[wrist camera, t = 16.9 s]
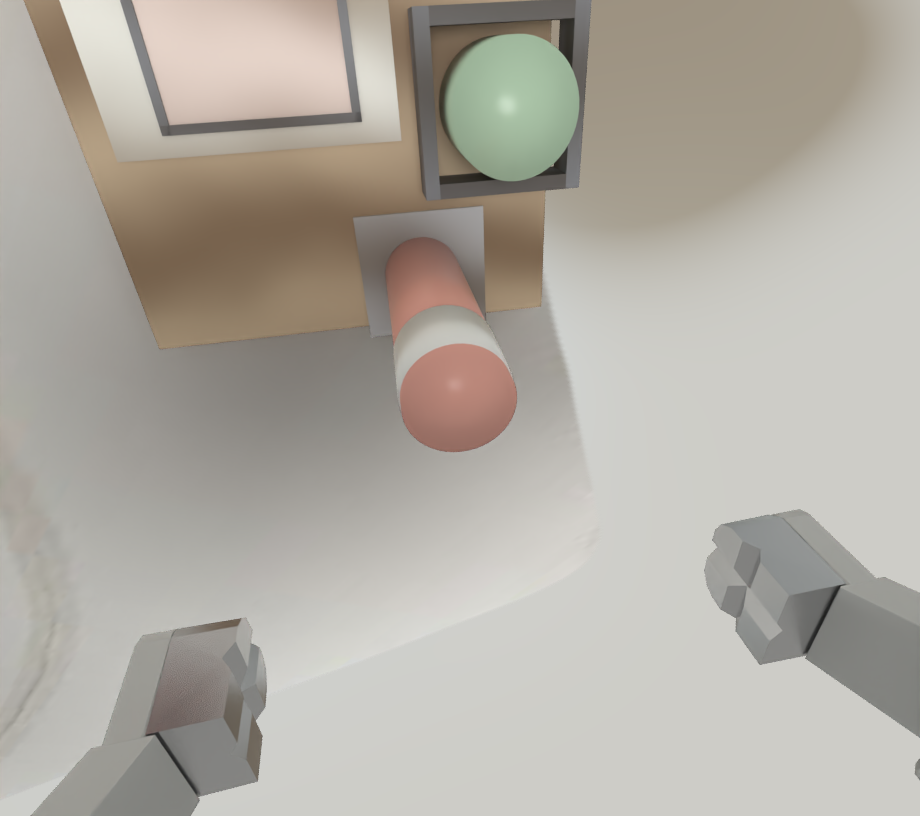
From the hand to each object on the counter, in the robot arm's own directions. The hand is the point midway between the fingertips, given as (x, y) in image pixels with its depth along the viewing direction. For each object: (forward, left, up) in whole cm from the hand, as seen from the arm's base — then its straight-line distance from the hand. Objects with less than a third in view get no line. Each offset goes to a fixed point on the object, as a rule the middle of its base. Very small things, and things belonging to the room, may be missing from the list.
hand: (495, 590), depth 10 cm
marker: (0, 0, -16) cm, 16 cm away
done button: (+7, +1, -16) cm, 17 cm away
